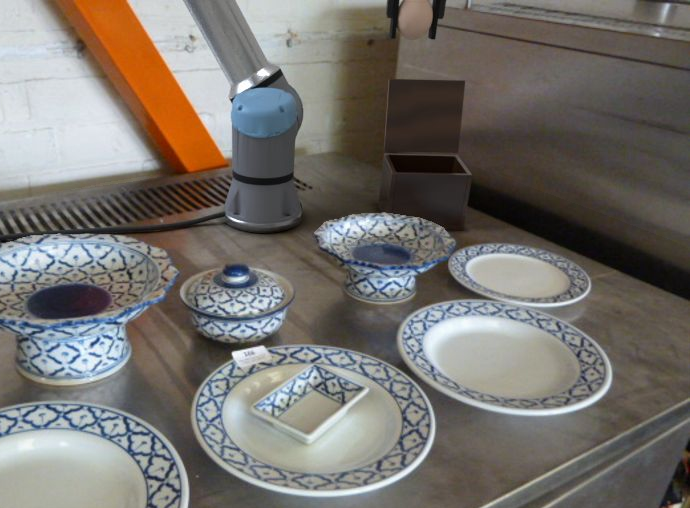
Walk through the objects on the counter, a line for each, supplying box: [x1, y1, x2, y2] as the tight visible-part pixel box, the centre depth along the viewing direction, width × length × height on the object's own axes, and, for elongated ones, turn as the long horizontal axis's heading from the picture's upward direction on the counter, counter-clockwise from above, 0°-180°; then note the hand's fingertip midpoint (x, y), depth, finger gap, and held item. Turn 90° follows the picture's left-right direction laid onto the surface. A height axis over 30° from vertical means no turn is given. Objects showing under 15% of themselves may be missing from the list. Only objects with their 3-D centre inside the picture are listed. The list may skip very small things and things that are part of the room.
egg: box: [396, 0, 433, 41], centre depth 120 cm, size 7×7×8 cm
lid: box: [383, 78, 466, 154], centre depth 131 cm, size 14×15×5 cm
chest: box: [377, 152, 473, 231], centre depth 128 cm, size 13×15×11 cm
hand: (411, 37), depth 121 cm, fingers closed on egg, 7 cm apart
